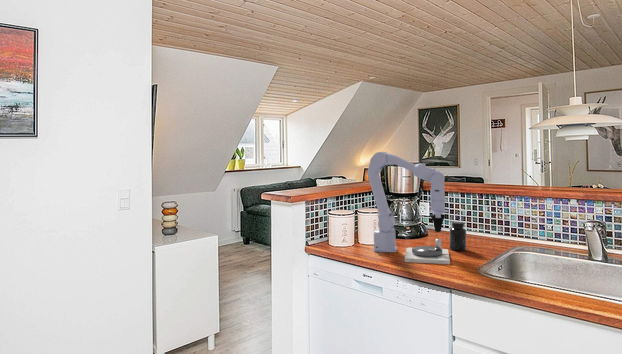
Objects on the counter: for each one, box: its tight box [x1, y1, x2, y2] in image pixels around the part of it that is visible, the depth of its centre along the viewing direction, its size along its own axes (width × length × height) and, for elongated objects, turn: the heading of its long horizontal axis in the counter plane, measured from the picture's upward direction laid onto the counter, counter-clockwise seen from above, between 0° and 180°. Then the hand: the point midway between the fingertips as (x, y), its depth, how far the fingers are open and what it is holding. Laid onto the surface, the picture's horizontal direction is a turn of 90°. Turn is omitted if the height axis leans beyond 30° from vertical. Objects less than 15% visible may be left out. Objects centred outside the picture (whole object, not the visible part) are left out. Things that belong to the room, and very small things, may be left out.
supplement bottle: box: [449, 221, 467, 252], centre depth 167 cm, size 7×7×12 cm
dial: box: [411, 238, 443, 257], centre depth 157 cm, size 12×12×6 cm
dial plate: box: [404, 247, 451, 265], centre depth 157 cm, size 17×17×2 cm
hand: (437, 231), depth 161 cm, fingers closed
